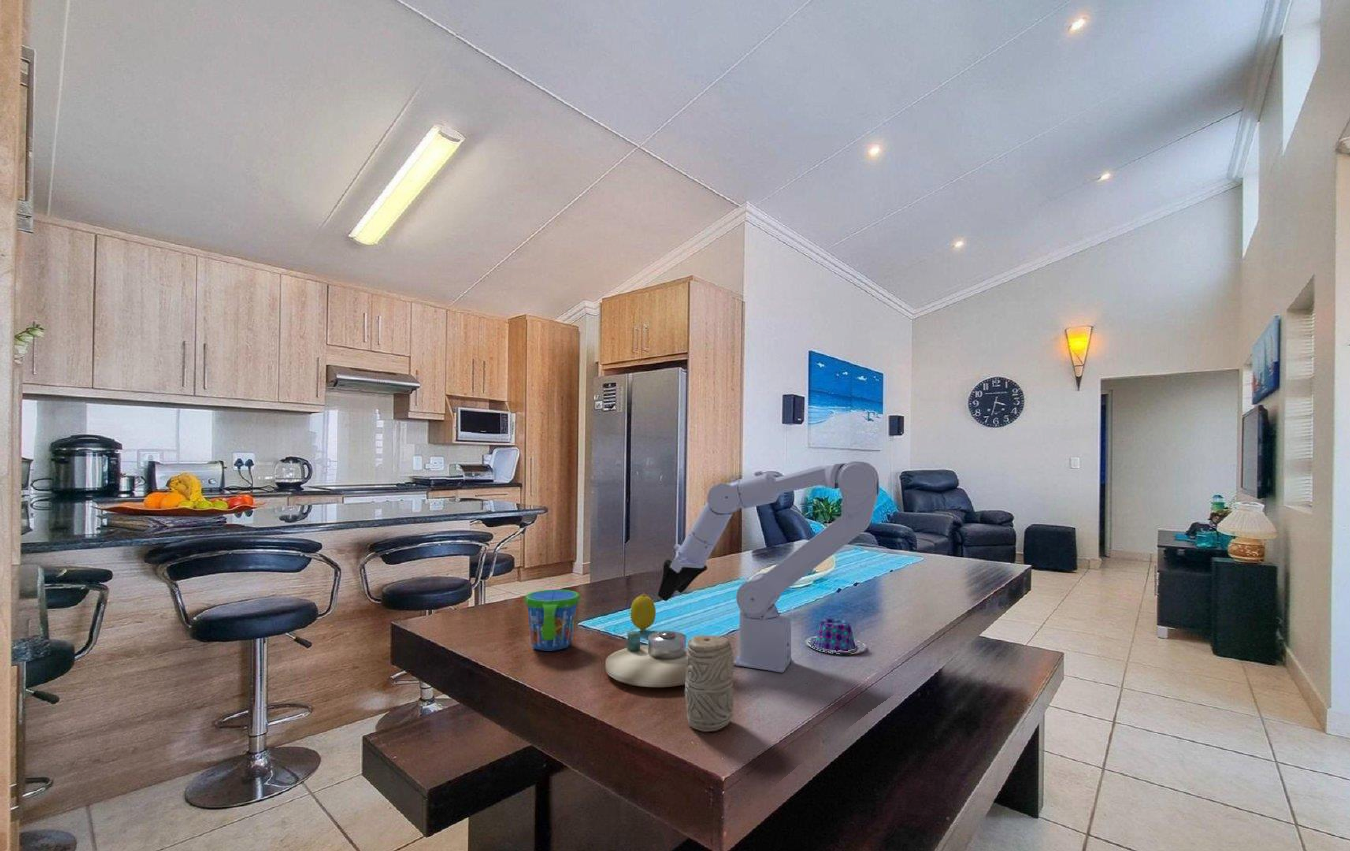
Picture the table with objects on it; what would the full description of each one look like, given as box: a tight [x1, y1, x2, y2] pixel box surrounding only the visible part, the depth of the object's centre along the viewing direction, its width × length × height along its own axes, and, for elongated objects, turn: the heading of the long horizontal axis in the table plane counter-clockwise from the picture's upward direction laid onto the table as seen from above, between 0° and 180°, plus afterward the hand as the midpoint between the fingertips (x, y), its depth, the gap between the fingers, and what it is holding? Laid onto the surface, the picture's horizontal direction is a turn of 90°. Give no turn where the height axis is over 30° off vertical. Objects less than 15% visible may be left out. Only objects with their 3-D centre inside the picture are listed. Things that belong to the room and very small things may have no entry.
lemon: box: [630, 593, 657, 632], centre depth 125 cm, size 6×6×8 cm
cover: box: [647, 630, 687, 660], centre depth 105 cm, size 7×7×4 cm
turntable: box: [605, 630, 688, 688], centre depth 100 cm, size 18×18×4 cm
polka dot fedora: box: [805, 618, 867, 655], centre depth 117 cm, size 12×12×5 cm
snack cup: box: [524, 589, 580, 652], centre depth 114 cm, size 16×10×10 cm
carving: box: [684, 634, 735, 733], centre depth 81 cm, size 6×8×12 cm
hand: (670, 594), depth 114 cm, fingers open, 7 cm apart
